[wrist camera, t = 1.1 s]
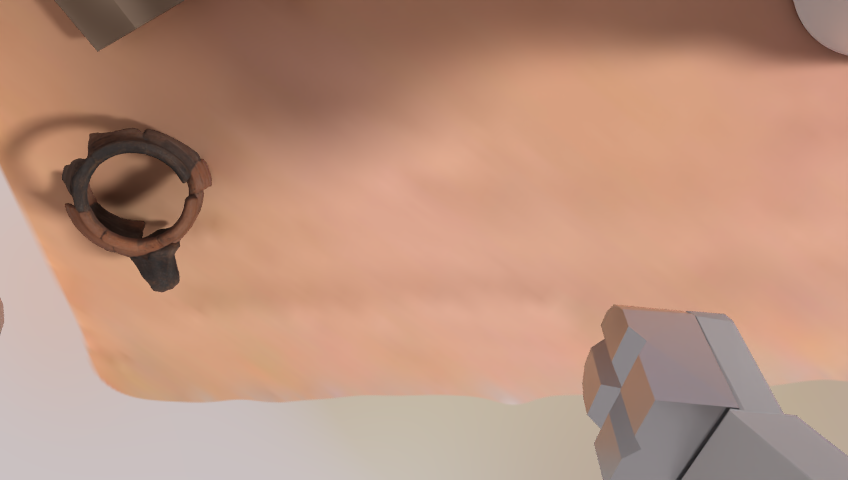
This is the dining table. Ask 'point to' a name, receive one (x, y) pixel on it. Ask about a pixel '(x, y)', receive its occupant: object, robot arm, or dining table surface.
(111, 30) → the seat plate
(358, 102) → the dining table surface
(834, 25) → the robot arm
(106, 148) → the dark brown arched piece
